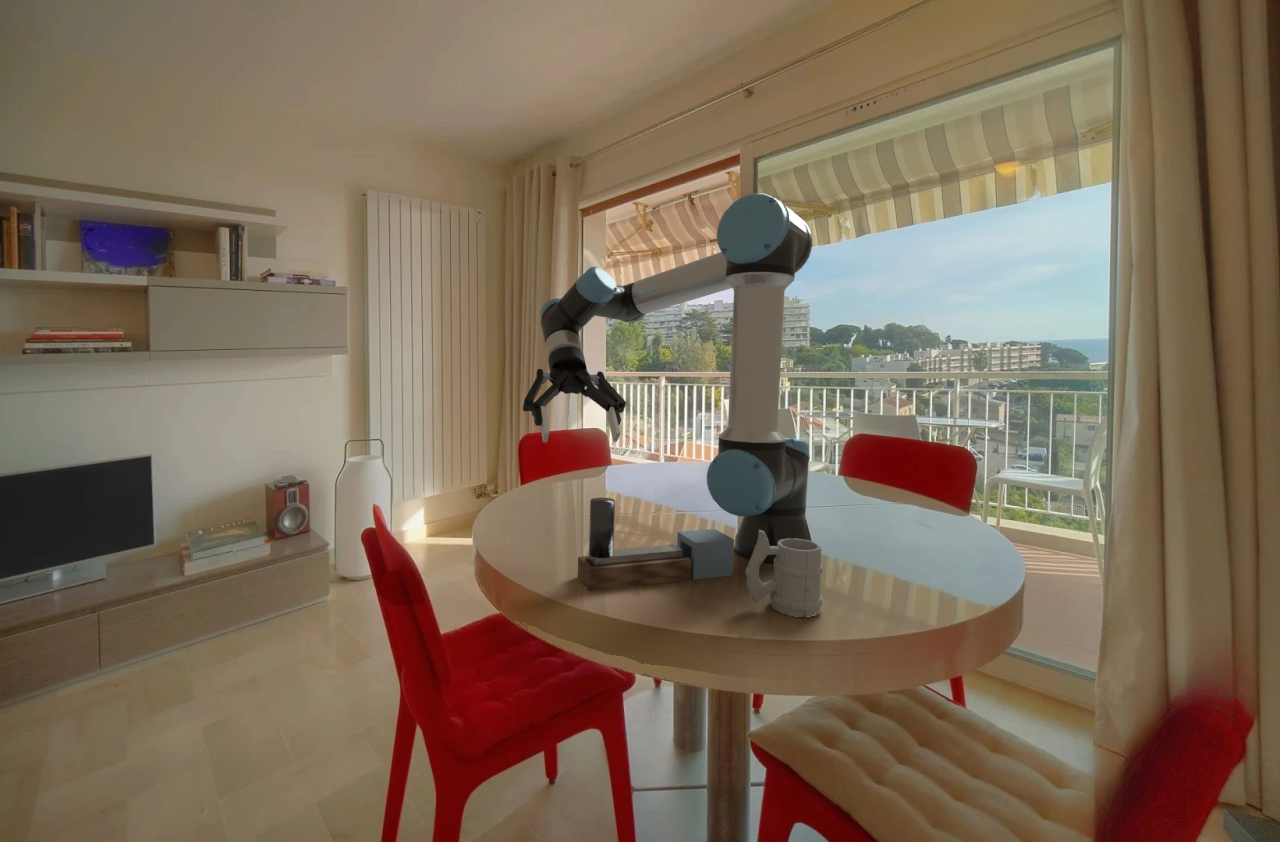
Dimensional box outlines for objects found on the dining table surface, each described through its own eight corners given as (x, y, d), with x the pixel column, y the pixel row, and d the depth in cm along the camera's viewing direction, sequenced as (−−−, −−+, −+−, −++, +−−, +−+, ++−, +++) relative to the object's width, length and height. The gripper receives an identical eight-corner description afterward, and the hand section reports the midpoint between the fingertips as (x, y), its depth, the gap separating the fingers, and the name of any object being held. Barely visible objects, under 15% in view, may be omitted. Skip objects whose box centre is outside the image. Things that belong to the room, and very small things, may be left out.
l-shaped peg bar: (672, 562, 99) (675, 493, 98) (682, 570, 95) (685, 498, 94) (585, 571, 93) (587, 498, 92) (592, 580, 89) (594, 503, 88)
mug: (831, 618, 81) (836, 537, 80) (753, 620, 79) (757, 538, 78) (808, 597, 89) (812, 523, 88) (736, 599, 87) (740, 523, 86)
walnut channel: (674, 567, 101) (675, 548, 100) (690, 579, 95) (691, 559, 94) (577, 577, 94) (578, 556, 94) (588, 591, 88) (588, 569, 88)
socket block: (712, 562, 104) (714, 528, 103) (732, 575, 97) (734, 539, 97) (676, 566, 101) (677, 531, 101) (693, 579, 95) (695, 542, 94)
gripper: (617, 372, 124) (639, 448, 111) (503, 367, 115) (512, 450, 102) (626, 347, 119) (650, 424, 106) (507, 340, 110) (517, 424, 97)
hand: (582, 437), depth 104 cm, fingers open, 13 cm apart
